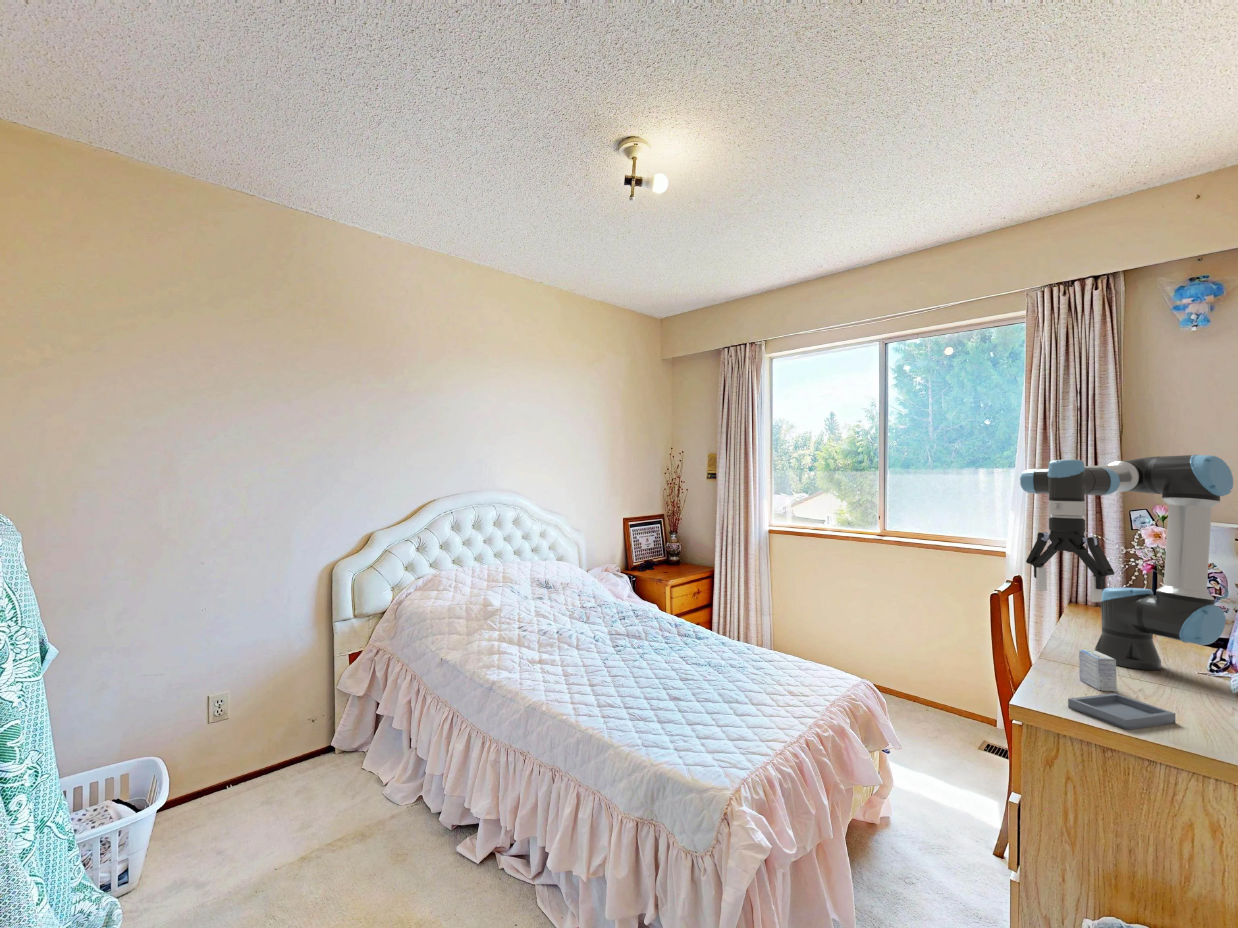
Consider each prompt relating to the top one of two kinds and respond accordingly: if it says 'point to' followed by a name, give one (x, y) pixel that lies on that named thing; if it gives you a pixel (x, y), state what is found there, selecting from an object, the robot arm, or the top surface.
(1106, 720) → the tray
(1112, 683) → the medicine box
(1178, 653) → the top surface
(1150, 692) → the top surface
